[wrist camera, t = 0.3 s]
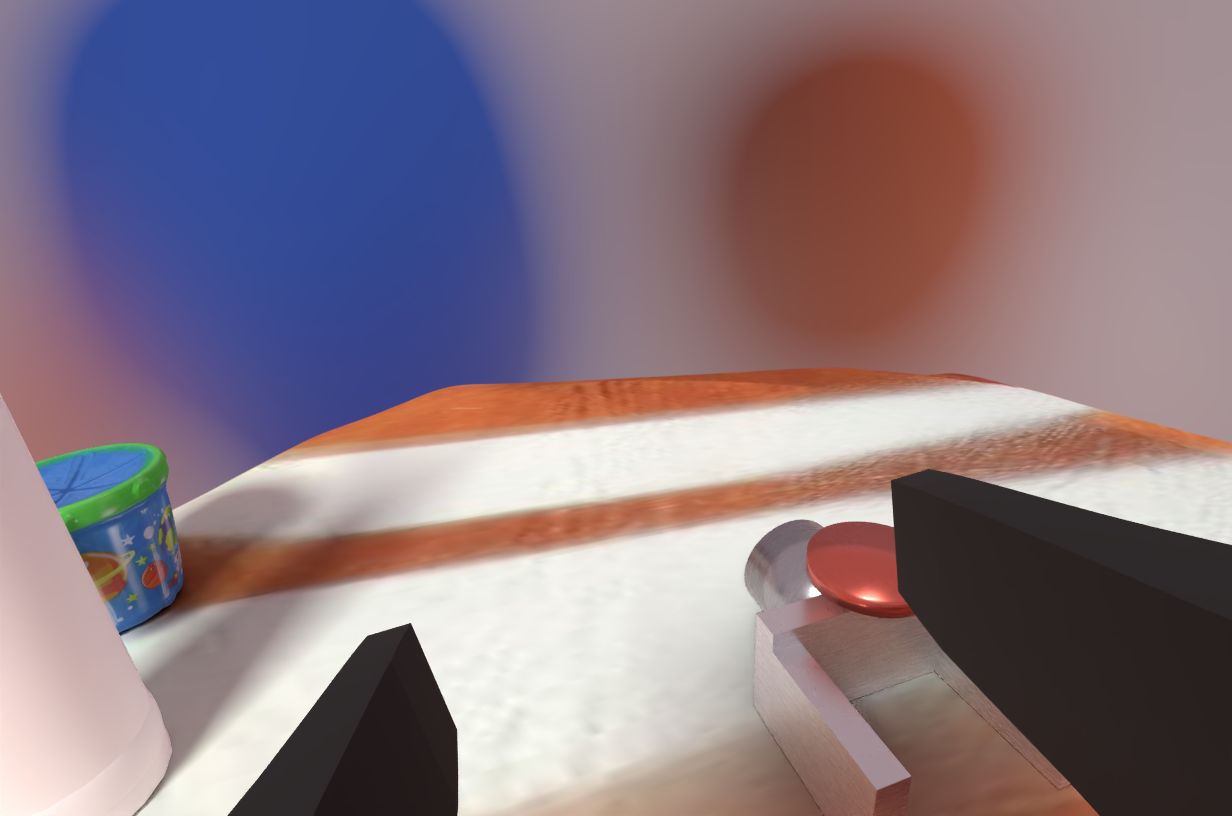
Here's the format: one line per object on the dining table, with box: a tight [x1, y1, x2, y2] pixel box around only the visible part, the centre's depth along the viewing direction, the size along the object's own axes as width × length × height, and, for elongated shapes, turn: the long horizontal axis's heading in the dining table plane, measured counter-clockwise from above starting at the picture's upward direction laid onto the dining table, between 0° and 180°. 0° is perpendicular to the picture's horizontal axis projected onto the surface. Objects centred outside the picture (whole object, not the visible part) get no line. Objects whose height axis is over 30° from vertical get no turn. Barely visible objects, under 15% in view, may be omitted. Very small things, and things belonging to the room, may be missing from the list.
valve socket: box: [745, 520, 1070, 816], centre depth 30 cm, size 14×12×8 cm
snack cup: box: [35, 443, 184, 633], centre depth 40 cm, size 16×10×10 cm
